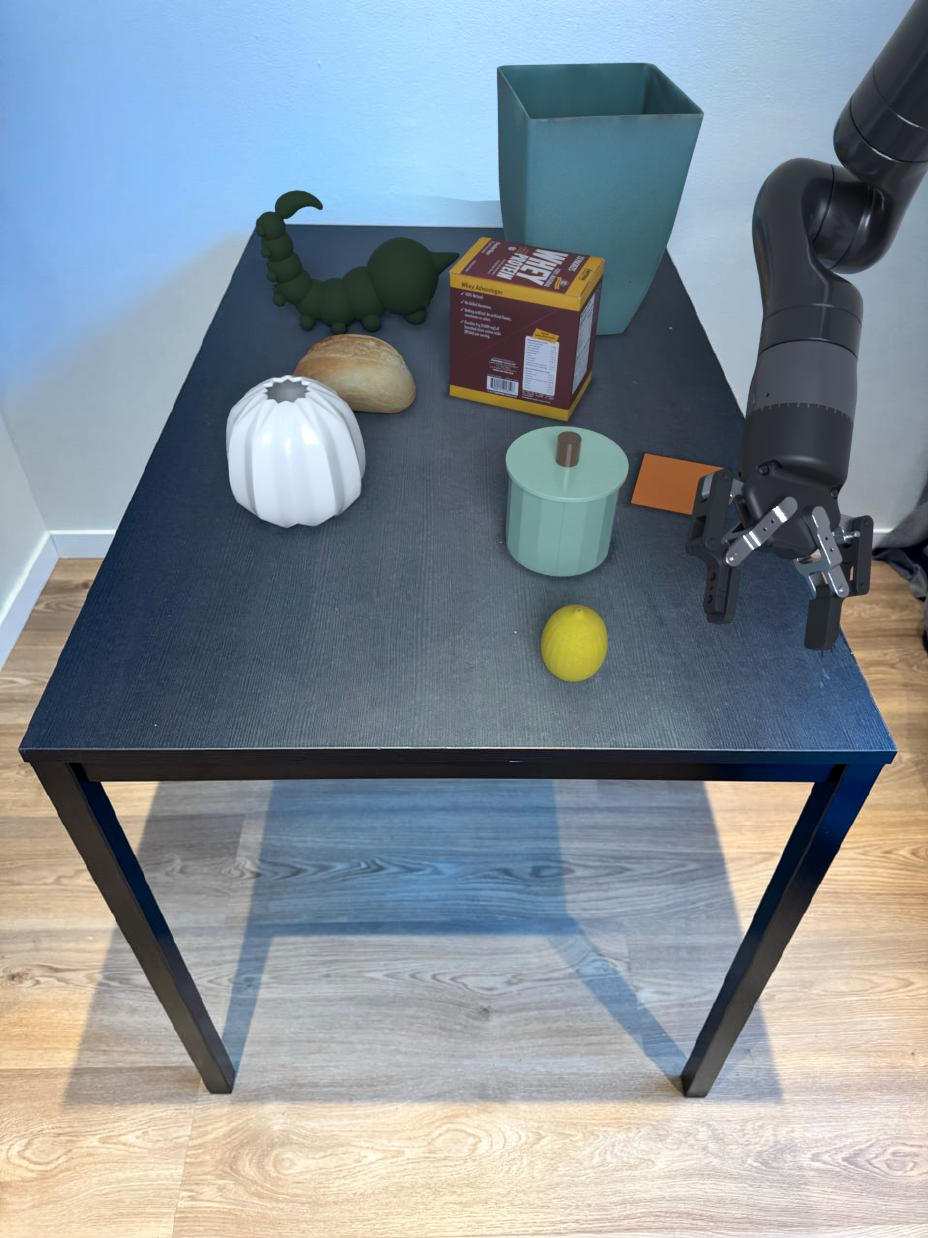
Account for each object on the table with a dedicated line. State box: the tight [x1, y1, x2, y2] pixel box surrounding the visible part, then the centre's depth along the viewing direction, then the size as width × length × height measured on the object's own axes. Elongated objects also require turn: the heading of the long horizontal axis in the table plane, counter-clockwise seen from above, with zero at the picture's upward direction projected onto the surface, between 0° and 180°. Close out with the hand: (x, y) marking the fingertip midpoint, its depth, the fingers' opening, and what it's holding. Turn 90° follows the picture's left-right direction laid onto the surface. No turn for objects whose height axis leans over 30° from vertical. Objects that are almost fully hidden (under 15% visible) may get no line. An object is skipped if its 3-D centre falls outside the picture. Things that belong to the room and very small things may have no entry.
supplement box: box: [448, 236, 605, 422], centre depth 103 cm, size 10×15×16 cm
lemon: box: [540, 604, 609, 683], centre depth 73 cm, size 6×6×8 cm
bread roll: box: [292, 333, 417, 414], centre depth 103 cm, size 10×15×8 cm, turn 93°
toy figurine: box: [255, 189, 461, 335], centre depth 113 cm, size 9×19×25 cm
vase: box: [225, 374, 367, 529], centre depth 88 cm, size 14×14×13 cm
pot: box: [504, 475, 621, 577], centre depth 85 cm, size 10×10×9 cm
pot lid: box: [504, 425, 630, 503], centre depth 81 cm, size 11×11×4 cm
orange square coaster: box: [630, 453, 724, 516], centre depth 95 cm, size 9×9×1 cm
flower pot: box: [496, 62, 705, 336], centre depth 111 cm, size 20×20×28 cm
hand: (769, 636), depth 62 cm, fingers open, 8 cm apart
